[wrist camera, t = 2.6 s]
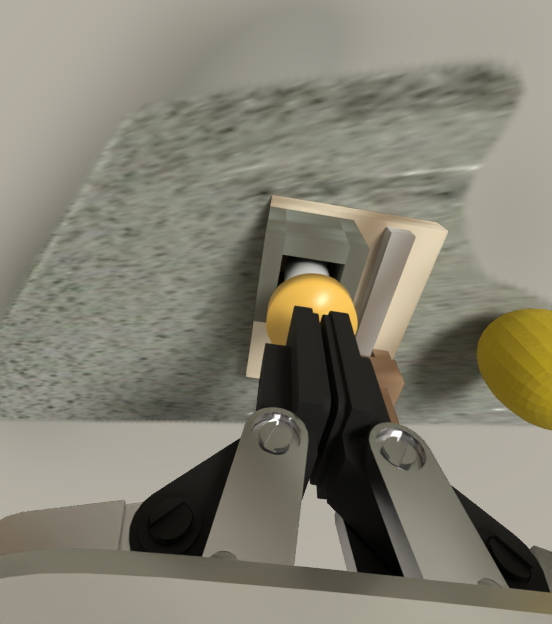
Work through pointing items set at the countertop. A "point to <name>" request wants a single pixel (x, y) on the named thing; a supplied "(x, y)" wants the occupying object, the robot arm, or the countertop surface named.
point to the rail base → (350, 266)
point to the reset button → (305, 296)
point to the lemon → (520, 363)
